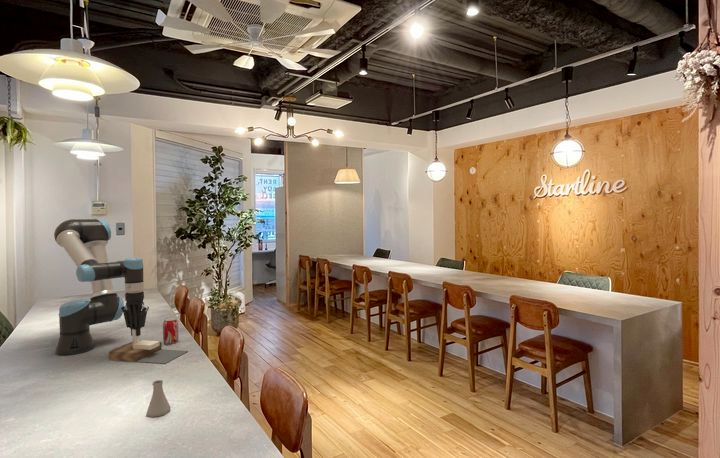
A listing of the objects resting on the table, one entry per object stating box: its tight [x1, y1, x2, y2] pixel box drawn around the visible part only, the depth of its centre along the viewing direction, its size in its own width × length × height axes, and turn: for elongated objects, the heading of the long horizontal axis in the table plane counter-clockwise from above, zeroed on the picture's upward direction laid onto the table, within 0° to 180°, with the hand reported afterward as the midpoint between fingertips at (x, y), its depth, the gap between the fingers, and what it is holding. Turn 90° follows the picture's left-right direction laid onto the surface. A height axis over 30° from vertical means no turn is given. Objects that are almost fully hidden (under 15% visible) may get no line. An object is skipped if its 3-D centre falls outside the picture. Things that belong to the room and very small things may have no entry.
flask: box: [145, 379, 171, 418], centre depth 130 cm, size 7×7×10 cm
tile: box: [133, 339, 161, 350], centre depth 183 cm, size 9×6×2 cm, turn 79°
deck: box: [108, 341, 162, 363], centre depth 184 cm, size 14×16×4 cm
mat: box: [136, 348, 189, 365], centre depth 181 cm, size 14×16×1 cm
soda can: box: [162, 317, 179, 345], centre depth 202 cm, size 7×7×12 cm
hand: (136, 342), depth 183 cm, fingers closed
